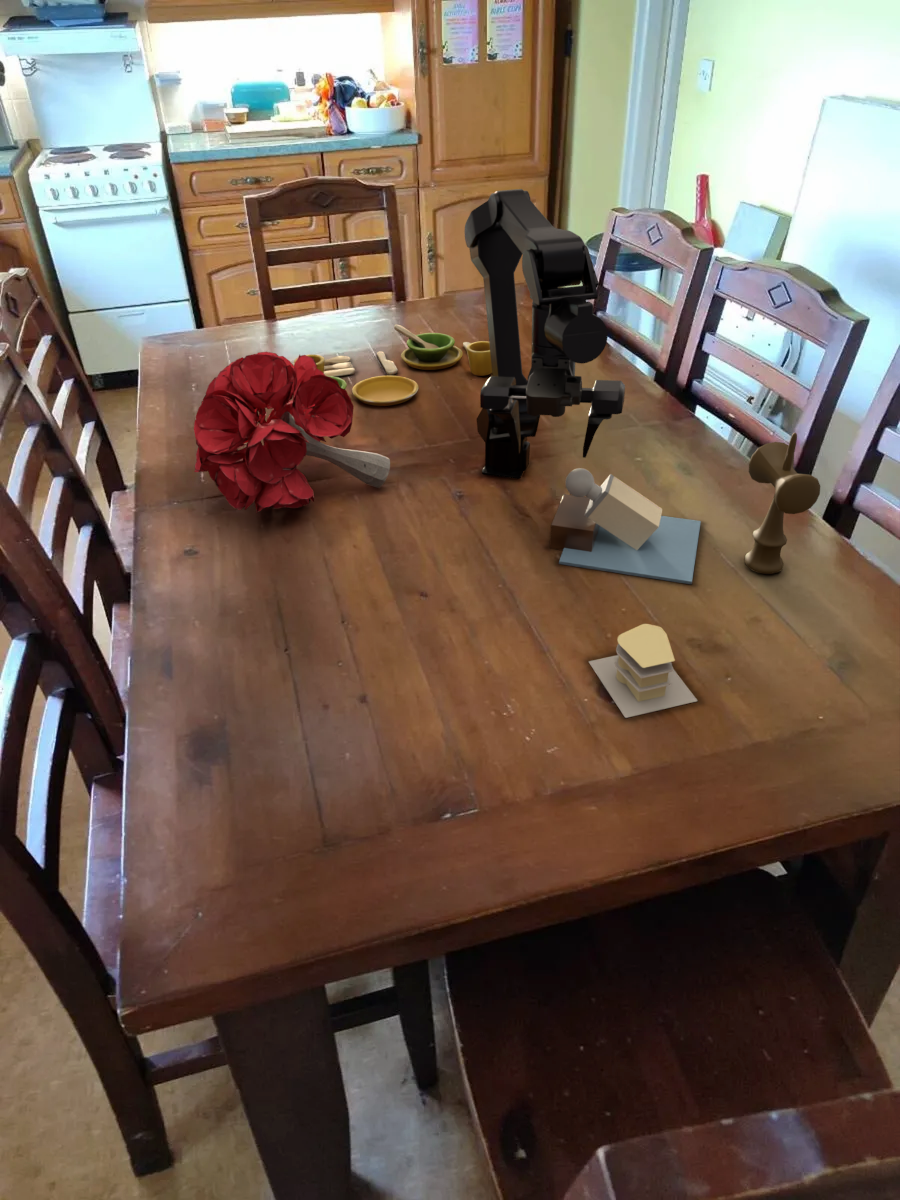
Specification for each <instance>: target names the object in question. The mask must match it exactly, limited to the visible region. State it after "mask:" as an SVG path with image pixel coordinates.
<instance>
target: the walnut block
mask: <svg viewBox="0 0 900 1200" xmlns="http://www.w3.org/2000/svg"><path fill="white" fill-rule="evenodd" d="M589 501H590V499H589V498H588V497H586V496H584V497H575V496H573V495H571V494H567V493H563V495H562V496H561V499H560V501H559V504H558V507H557V509H556V511H555V514H554V517H553V519H552V521H551V524H550V533H549V534H550V535H549V549H550V550H551V549H552V550H557V551H563V549H564V548H569V549H576V550H582V551H589V552H592V549H593V546H594V543H595V540H596V537H597V534H598V530H599V527H600V525H598V524H597V523H595V522H594V521H592V520H591V519H589V518H588V517H586V516H585V513H586V510H587V507H588V504H589Z"/></svg>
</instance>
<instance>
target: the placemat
mask: <svg viewBox="0 0 900 1200" xmlns="http://www.w3.org/2000/svg"><path fill="white" fill-rule="evenodd" d="M701 524H702V521H701V520H696V519H688V518H682V517H672V516H668V515H667V516H666V515H661V519H660V524H659V527H658V528H657V529H656V531H655V532H654V533H653V534H652V535H651V536H650V537H649V538H648V539H647V540H646V541H645V542H644V544H643V545H642V546H641V547H640V548H639V549H638V550H636V549H634V548H633V547H631V546H630V545H628V544H627V543H625V542H624V541H622V540H621V539H619V538H618V537H616V536H615V535H613V534H612V533H610V532H609V531H607V530H606V529H604V528H603V527H601V526H600V527H599V530H598V534H597V537H596V540H595V543H594V546H593V549H592V552H589V551H582V550H576V549H569V548H564V549H563V550H562V551H561V555H560V557H559V561H558V564H559V565H563V566H569V567H577V568H583V569H589V570H596V571H602V572H608V573H614V574H615V573H616V574H620V575H628V576H634V577H640V578H648V579H653V580H659V581H666V582H673V583H678V584H685V585H686V584H687V585H693V578H694V571H695V564H696V558H697V552H698V551H697V550H698V544H699V537H700V531H701Z"/></svg>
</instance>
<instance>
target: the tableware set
mask: <svg viewBox="0 0 900 1200" xmlns="http://www.w3.org/2000/svg"><path fill="white" fill-rule="evenodd" d="M393 329H394V330H395V331H396V332H397V333H399V334H401V335H403V336H405V337H406V338H408V339H407V340H406V346H407V347H408V348H406V349H404V350H403V351H402V352H401V354H400V358H401V360H402V361H403V362H404V363H406V365H407V366H409V367H411V368H414V369H417V370H425V371H436V370H442V369H447V368H450V367H453V366H454V365H456V364H457V363H458V362H459V361H460V360H461V359H462V357H463V355H464V354H463V353H464V352H463V350H462V349H461V348H459V347H457V346H456V345H455V343H456V341H455V338H454V337H452V336H451V335H449V334H445V333H441V332H425V333H420V334H419V333H418V334H415V333H413V332H411V331H410V330H409V329H407V328H406V327H404V326H403V325H400V324H394V326H393ZM462 344H463V348H464V349H465V350H466V354H467V358H468V359H467V360H468V363H469V364H468V365H469V371H470V373H471V374H472V375H474V376H480V377H481V376H482V377H484V376H489V375H492V366H491V355H490V344H489V341H487V340H486V341H485V340H482V341H475V342H469V341H464V342H463V343H462ZM305 355H306V356H309V357H312V358H314V360H315V362H316V365H317V367H316V368H317V369H319V370H320V371H322V372H323V373H324V374H325V375H326V376H328V377H331V378H333V379H335V380H337V381H338V384H339V386H340V387H341V388H343V389H345V390H346V389H347V386H348V385H347V382H346V380H344V379H342V378H341V377H343V376H351V375H355V373H356V369H355V367H354V366H353V364H352V362H351V357H349V356H348V355H336V356H333V357H331V358H329V359H328V358H327V359H325V357H324V356H322V355H320V354H305ZM376 356H377V358H378V360H379V362H380V364H381V366H382V368H383V369H384V372H385V373H386V375H377V376H372V377H368V378H366V379H363V380H360V381H358V382H357V383H356V384H355V385H354V386H352V389H351V393H352V395H353V396H354V397H355V398H356V399H357V400H358V401H360V402H361V403H363V404H366V405H370V406H377V407H383V406H384V407H387V406H388V407H389V406H394V405H395V406H396V405H399V404H403V403H405V402H407V401H409V400H411V399H412V398H413V397H414V396H415V395H417V393H418V391H419V384H418V383H417V382H416V381H415V380H413V379H411V378H408V377H404V376H402V375H401V376H399V375H395V374H398V371H399V369H398V368H397V366H396V364H395V362H394V361H392V360H389V359H387V357H386V354H385V352H384V351H377V352H376ZM297 358H298V357H296V358H295V359H294V360H293V363H292V364H293V366H294V363H295V362H296V360H297Z"/></svg>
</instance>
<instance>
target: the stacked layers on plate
mask: <svg viewBox="0 0 900 1200" xmlns="http://www.w3.org/2000/svg"><path fill="white" fill-rule="evenodd" d="M615 652H616V655H611V656H607V657H603V658H598V659H594V660H593V659H592V660H588V663H589V665H590V666H591V668H592V669H593V671H594V672H595V674H596V675H597V677H598V679H599V680H600V682H601V684H602V685H603V687H604V688H605V690H606V691H607V693H608V694H609V696H610V697H611V698H612V700H613V701H614V703H615V704H616V706H617V707H618V709H619V711H620V712H621V714H622V715H623V717H624V718H625V719H627V718H631V717H636V716H640V715H644V714H649V713H653V712H657V711H662V710H665V709H670V708H674V707H679V706H682V705H686V704H690V703H691V704H692V703H696V702H699V701H698V699H697V698H696V696H695V695H694V694H693V693H692V691H691V690H690V689H689V687H688V686H687V685H686V683H685V682H684V681H683V680H682V678H681V677H680V676H679V675H678V672H677V671H676V670H675V669H674V667H673V663H672V662H675V661H676V659H675V656H674V653H673V650H672V647H671V643H670V640H669V636H668V634H667V632H666V631H665V630H664V629H663V628H662V626H659V625H654V624H650V623H642V624H640V625H638V626H635V627H633V628H631V629H628V630H626V631H624V632H622V633H621V634H619V635H618V636H617V645H616V648H615Z"/></svg>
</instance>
